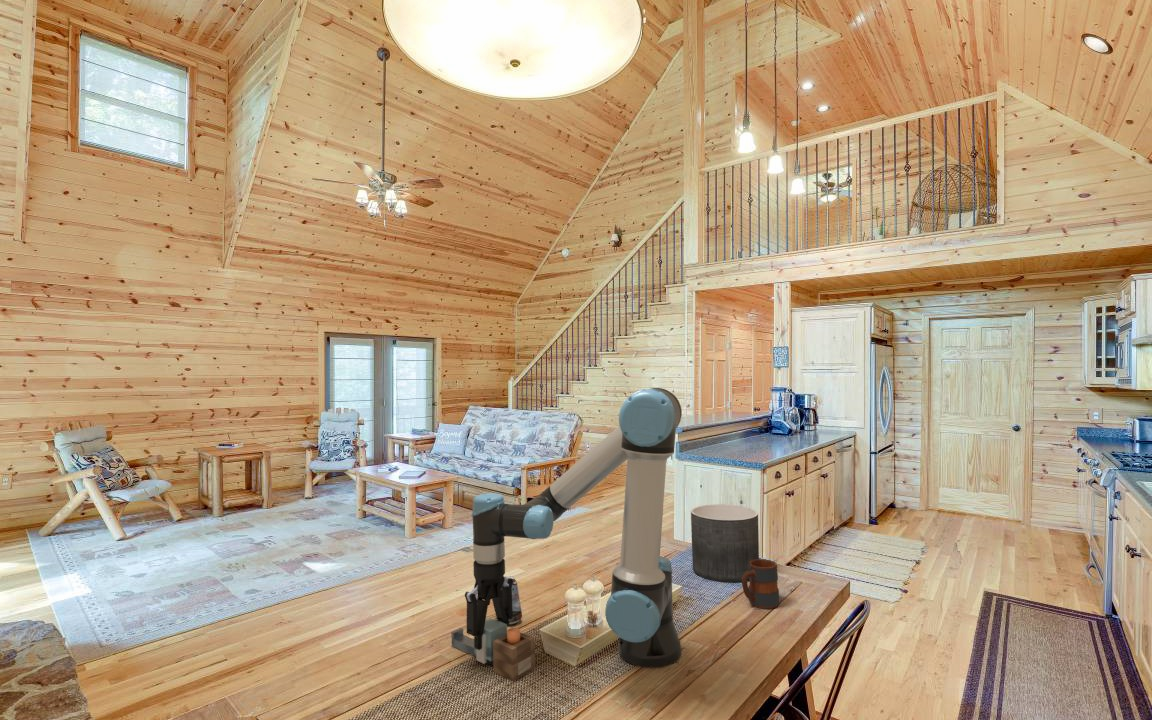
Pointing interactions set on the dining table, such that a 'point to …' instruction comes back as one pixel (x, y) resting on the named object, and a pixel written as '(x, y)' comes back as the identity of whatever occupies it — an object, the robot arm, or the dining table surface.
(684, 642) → the dining table surface
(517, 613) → the beverage can
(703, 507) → the planter
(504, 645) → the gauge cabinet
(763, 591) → the mug
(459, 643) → the rail
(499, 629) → the carriage
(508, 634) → the orange rounded piece
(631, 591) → the robot arm
